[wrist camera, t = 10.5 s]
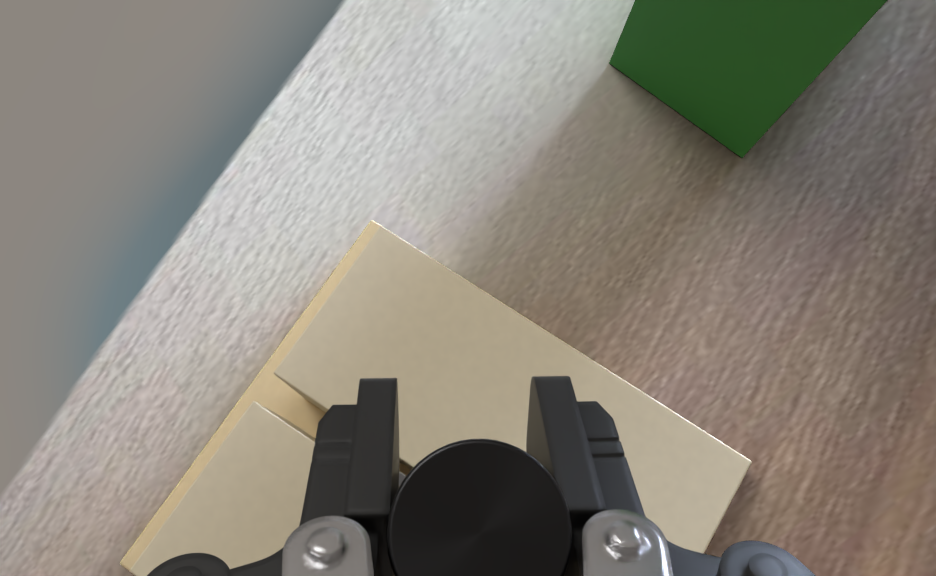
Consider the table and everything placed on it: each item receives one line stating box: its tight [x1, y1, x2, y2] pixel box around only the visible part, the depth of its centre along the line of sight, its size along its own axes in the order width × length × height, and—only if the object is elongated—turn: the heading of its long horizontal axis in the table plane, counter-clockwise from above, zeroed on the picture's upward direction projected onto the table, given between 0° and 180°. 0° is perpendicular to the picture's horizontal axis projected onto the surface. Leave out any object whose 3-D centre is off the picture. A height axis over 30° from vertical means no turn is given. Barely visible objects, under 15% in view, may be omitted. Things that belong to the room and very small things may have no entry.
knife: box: [387, 439, 572, 576], centre depth 17 cm, size 8×3×14 cm, turn 57°
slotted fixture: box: [120, 220, 751, 576], centre depth 26 cm, size 18×16×7 cm
